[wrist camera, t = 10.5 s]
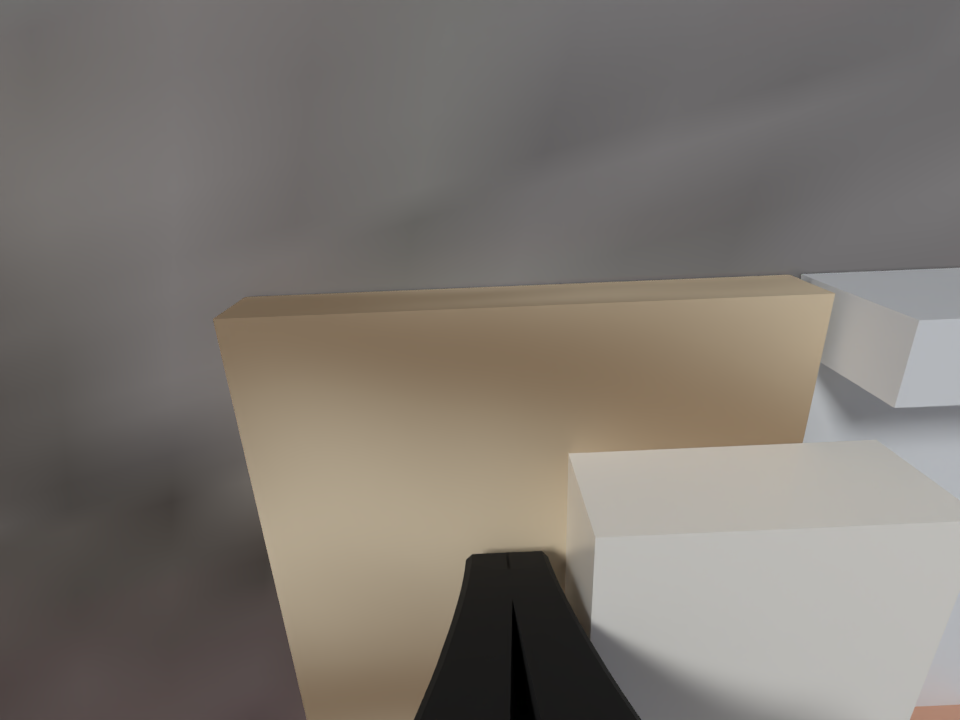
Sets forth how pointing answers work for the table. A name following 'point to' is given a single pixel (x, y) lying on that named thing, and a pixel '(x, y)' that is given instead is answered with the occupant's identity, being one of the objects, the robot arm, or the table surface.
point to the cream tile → (762, 578)
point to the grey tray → (897, 393)
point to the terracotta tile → (936, 712)
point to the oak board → (477, 438)
